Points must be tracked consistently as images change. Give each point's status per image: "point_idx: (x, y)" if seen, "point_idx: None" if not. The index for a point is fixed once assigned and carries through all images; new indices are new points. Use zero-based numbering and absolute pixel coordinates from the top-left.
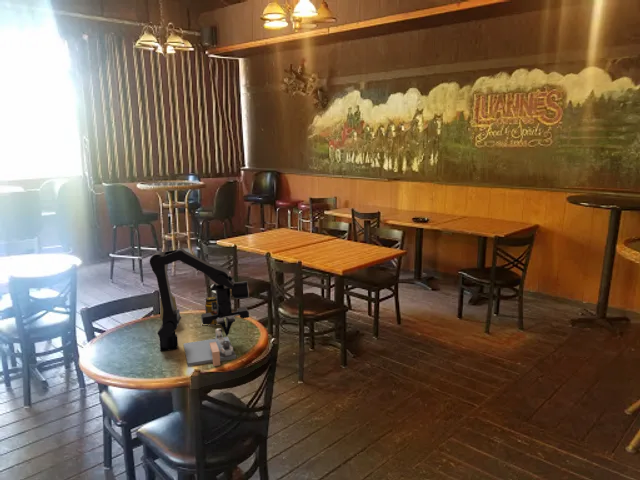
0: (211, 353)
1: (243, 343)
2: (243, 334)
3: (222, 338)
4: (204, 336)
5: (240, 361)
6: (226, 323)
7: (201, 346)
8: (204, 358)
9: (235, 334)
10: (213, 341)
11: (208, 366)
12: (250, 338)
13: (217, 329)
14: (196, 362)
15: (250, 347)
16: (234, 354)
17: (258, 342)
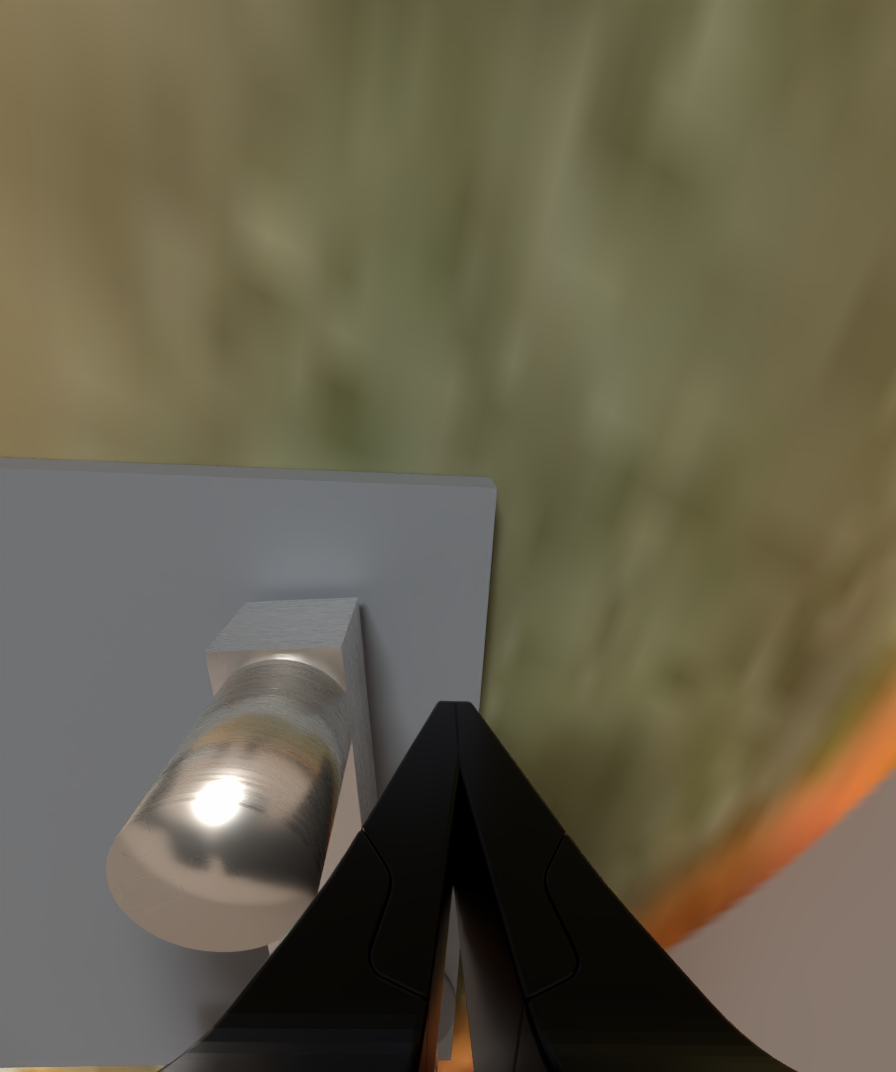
0: (173, 952)
1: (659, 714)
2: (819, 356)
3: (339, 835)
4: (34, 54)
5: (473, 1066)
6: (511, 1021)
7: (3, 714)
8: (89, 1028)
9: (692, 280)
10: (209, 597)
11: (159, 1066)
12: (828, 586)
13: (176, 875)
14: (6, 1059)
15: (686, 848)
16: (442, 1037)
17: (845, 756)
